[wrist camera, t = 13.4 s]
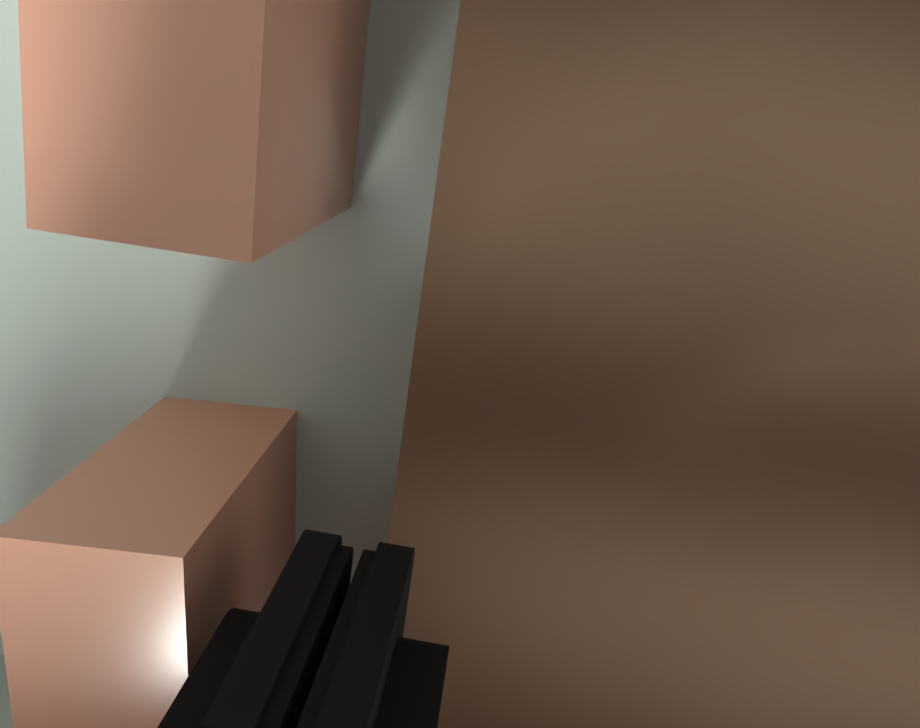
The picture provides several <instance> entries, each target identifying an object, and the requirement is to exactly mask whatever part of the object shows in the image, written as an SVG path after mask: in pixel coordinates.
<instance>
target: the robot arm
mask: <svg viewBox="0 0 920 728" xmlns="http://www.w3.org/2000/svg"><path fill="white" fill-rule="evenodd" d="M414 555H415V548H413V547H407V546H401V545H395V544H389V543H384V542H379V544H378V546H377V549H376V551H372V550H367V549H364V550H363V552H362V554H361V557H360V559H359V562H358V565H357V567H356V570H355V573H354V575H353V578H352V581H351V583H350V579H351V570H352V562H353V547H349V546H343V545H342V537H341V535H337V534H331V533H325V532H320V531H314V530H308V529H306V530H304V531H303V533H302V535H301V537H300V538H299V540H298V542H297V544H296V546H295V548H294V550H293V552H292V553H291V555H290V557H289V559H288V561H287V563H286V565H285V567H284V568H283V570H282V572H281V574H280V576H279V578H278V580H277V582H276V583H275V585H274V587H273V589H272V591H271V593H270V595H269V597H268V598H267V600H266V602H265V604H264V606H263V608H262V610H261V612H255V611H250V610H244V609H238V608H232V609H230V610H229V611H228V612H227V613H226V615H225V616H224V617H223V619H222V621H221V622H220V624H219V626H218V627H217V629H216V631H215V632H214V634H213V636H212V637H211V639H210V641H209V642H208V644H207V646H206V647H205V649H204V651H203V652H202V654H201V656H200V657H199V659H198V661H197V662H196V664H195V666H194V667H193V669H192V671H191V672H190V674H189V676H188V677H187V679H186V681H185V682H184V684H183V686H182V687H181V689H180V691H179V692H178V694H177V696H176V697H175V699H174V701H173V702H172V704H171V706H170V707H169V709H168V711H167V712H166V714H165V716H164V717H163V719H162V721H161V722H160V724H159V726H158V727H157V728H437V727H438V720H439V713H440V707H441V700H442V693H443V687H444V680H445V673H446V666H447V660H448V653H449V646H448V645H443V644H437V643H431V642H426V641H420V640H414V639H409V638H403V632H404V625H405V618H406V611H407V604H408V597H409V590H410V583H411V576H412V569H413V562H414Z"/></svg>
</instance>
